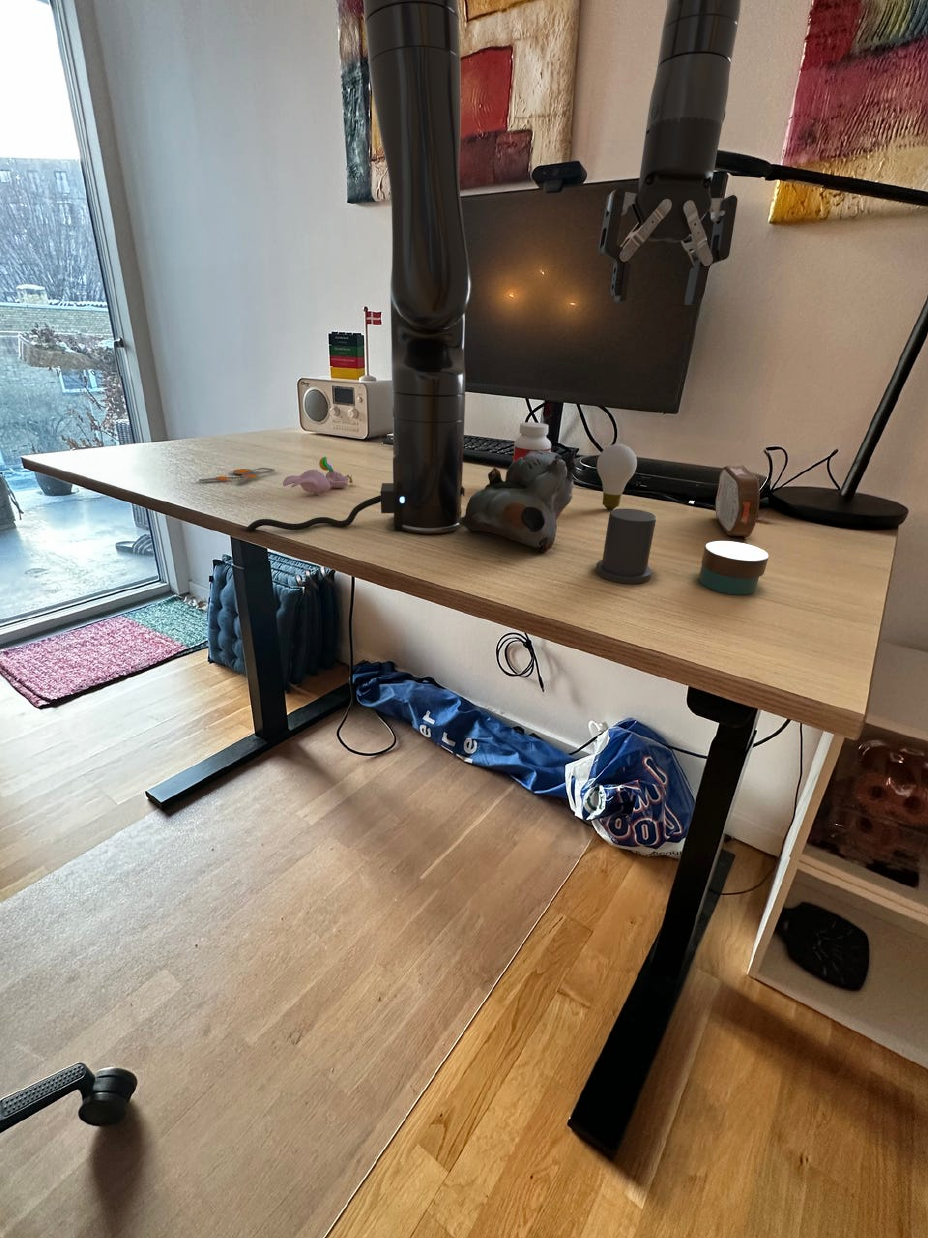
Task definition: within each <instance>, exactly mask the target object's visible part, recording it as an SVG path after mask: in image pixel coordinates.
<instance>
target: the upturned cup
mask: <svg viewBox="0 0 928 1238" xmlns="http://www.w3.org/2000/svg"><path fill="white" fill-rule="evenodd" d="M656 522H657V515H655V514H654V513H651V512H649V511H646V510H642V509H637V508H614V509H613V510H609V514H608V520H607V526H606V527H607V528H606V534H605V541H604V548H603V554H602V559H600V560H598V562H597V563H596V564H595V573H596V574H597V575H598V576H599V577H601V578H602V579H604V580H607V581H610V582H613V583H617V584H625V585H637V584H644V583H646V582H648V581H650V580H651V578H652V574H653V573H652V568H651V567H650V566H649V565H648V564H649V560H650V554H651V549H652V543H653V538H654V534H655V533H654V532H655V529H656Z"/></svg>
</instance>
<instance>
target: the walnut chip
mask: <svg viewBox="0 0 928 1238" xmlns="http://www.w3.org/2000/svg"><path fill="white" fill-rule="evenodd" d="M769 559H770V556H769V553H768V552H767V551H766V550H764V549H762V548H760V547H758V546H754V545H751V544H747V543H744V542H738V541H731V540H730V541H729V540H715V541H710V542H707V543H706V544H705V545H704V548H703V552H702V556H701V562H700V563H701V566H702V565H703V566H704V567H705V568H706V569H708V570H710V571H712V572H715V573H717V574H721V575H724V576H729V577H735V578H757V577H759V578H760V577H762V576H763V575H764V574H765V571H766V568H767V564H768V562H769Z"/></svg>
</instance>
